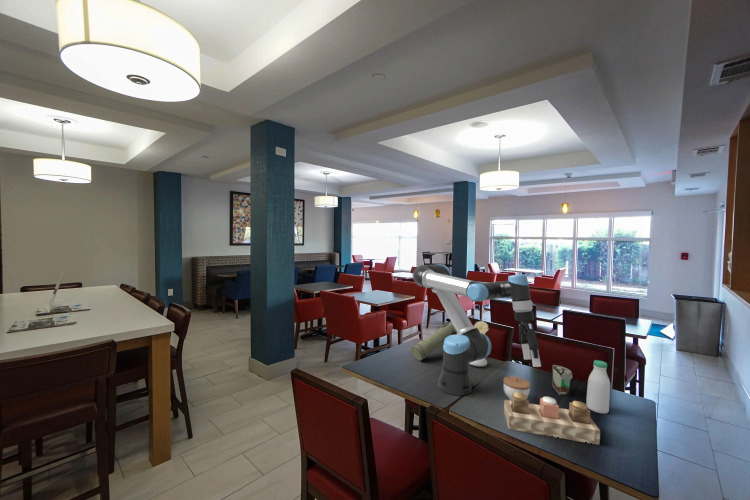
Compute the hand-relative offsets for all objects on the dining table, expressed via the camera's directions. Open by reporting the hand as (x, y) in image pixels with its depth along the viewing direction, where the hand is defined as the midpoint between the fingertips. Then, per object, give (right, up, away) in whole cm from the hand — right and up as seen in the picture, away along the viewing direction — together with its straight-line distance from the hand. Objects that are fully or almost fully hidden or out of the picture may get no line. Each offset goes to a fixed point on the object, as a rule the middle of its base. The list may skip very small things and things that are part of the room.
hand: (532, 362), depth 131 cm
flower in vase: (-8, -17, +44) cm, 48 cm away
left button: (-10, -14, -11) cm, 21 cm away
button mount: (-1, -19, -13) cm, 23 cm away
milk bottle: (+28, -20, +1) cm, 34 cm away
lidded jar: (-4, -19, +7) cm, 20 cm away
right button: (+9, -15, -16) cm, 24 cm away
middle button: (0, -15, -13) cm, 20 cm away
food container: (+22, -19, +16) cm, 34 cm away
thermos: (-42, -11, +46) cm, 63 cm away
